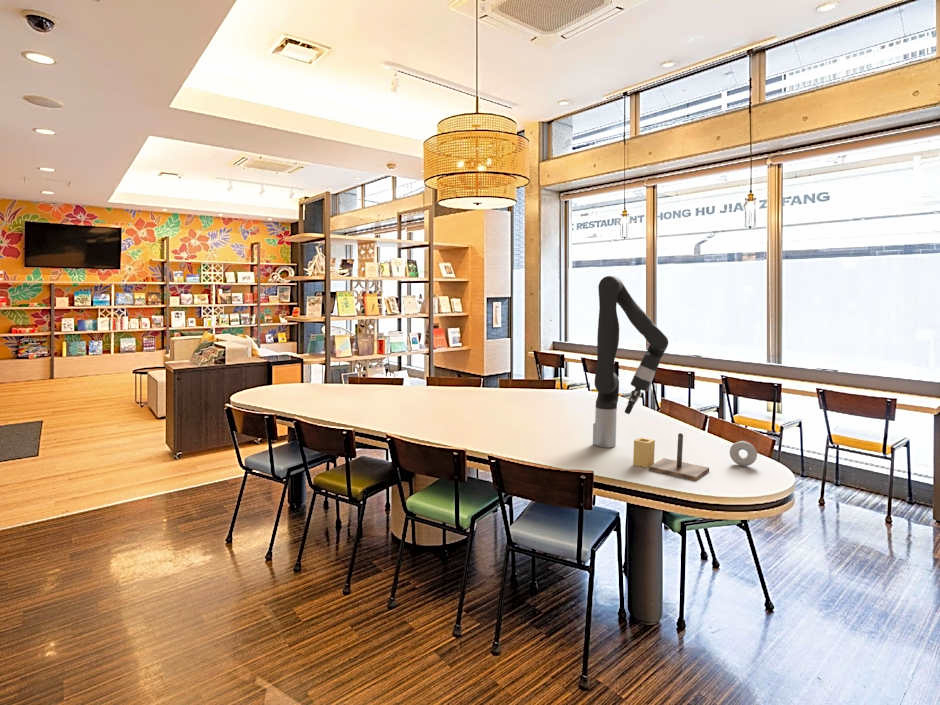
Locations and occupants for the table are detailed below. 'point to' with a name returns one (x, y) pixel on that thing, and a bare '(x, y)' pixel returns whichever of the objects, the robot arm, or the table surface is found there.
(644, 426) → the table surface
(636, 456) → the bead
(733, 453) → the donut
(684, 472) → the spindle stand
